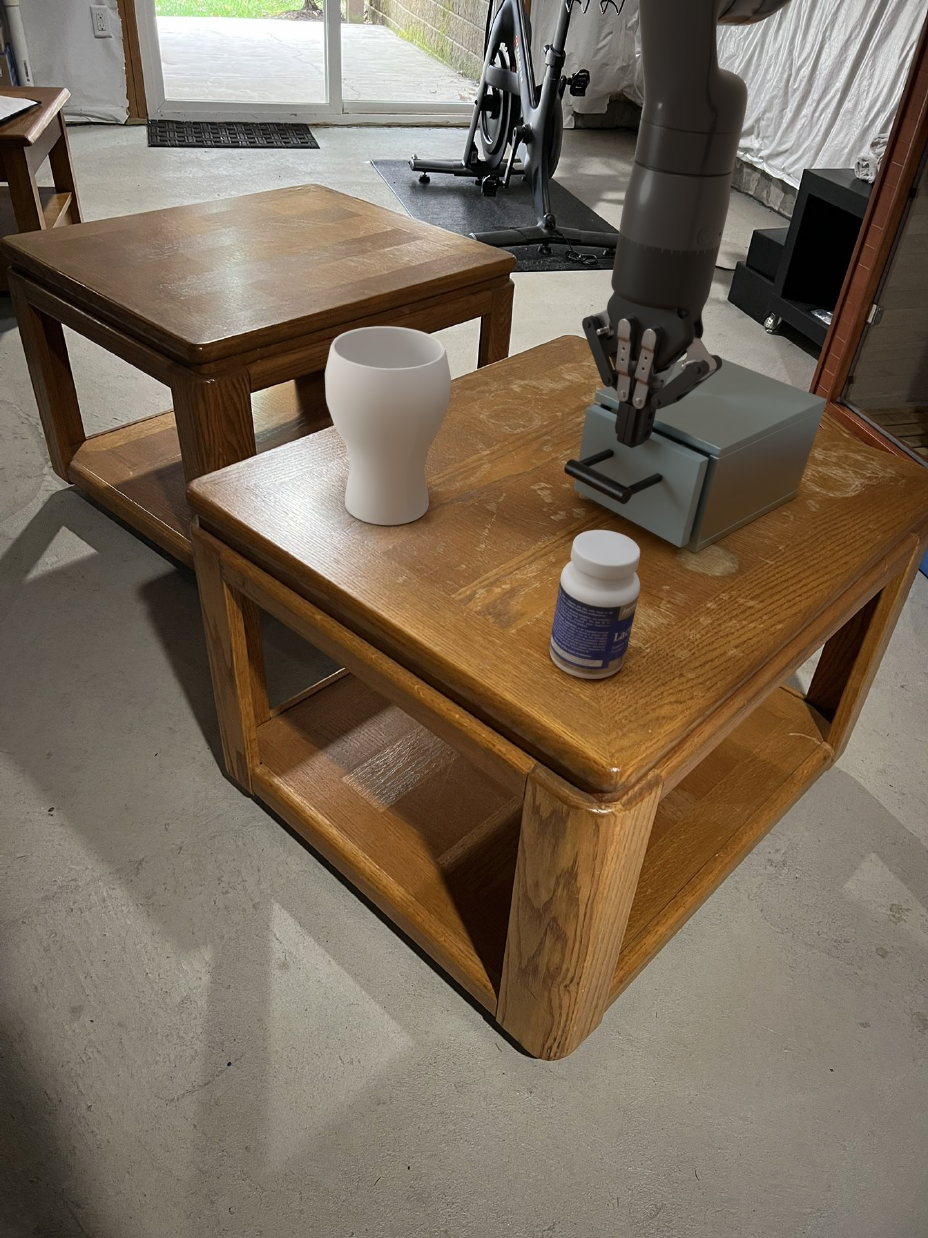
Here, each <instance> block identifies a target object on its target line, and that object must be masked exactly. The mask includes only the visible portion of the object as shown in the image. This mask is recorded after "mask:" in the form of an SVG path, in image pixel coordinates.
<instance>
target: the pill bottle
mask: <svg viewBox="0 0 928 1238" xmlns="http://www.w3.org/2000/svg"><path fill="white" fill-rule="evenodd" d="M640 556H641V548H640V547H639V545H638V544H637V543H636V541H635V540H633V539H631V538H630V537H629V536H627V535H625V534H622V533H620V532H616V531H612V530H608V529H607V530H606V529H593V530H586V531H583V532H581V533H579V534H578V535H576V536H575V538H574V539H573V542H572V546H571V551H570V561H569V562H567V564H566V565H565V566H564V567H563V569H562V571H561V573H560V580H559V585H558V591H557V597H556V604H555V610H554V614H553V615H554V616H553V622H552V627H551V634H550V640H549V654H550V657H551V659H552V661H553V663H554V664H555V665H556V667H558V668H559V669H560V670H562V671H564V672H565V673H567V674H568V675H571V676H574V677H577V678H581V679H587V680H597V679H598V680H599V679H605V678H608V677H610V676H612V675H615V673H617V672H618V671H620V670H621V669H622V667H623V665H624V664H625V660H626V657H627V656H626V655H627V651H628V647H629V642H630V637H631V633H632V629H633V623H634V619H635V615H636V610H637V605H638V601H639V597H640V591H641V582H640V577H639V576H638V574H637V570H638V567H639V563H640V558H641V557H640Z"/></svg>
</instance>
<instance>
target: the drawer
mask: <svg viewBox="0 0 928 1238" xmlns="http://www.w3.org/2000/svg"><path fill="white" fill-rule="evenodd" d="M617 412H618V411H617V410H614V409H612V408H611V412H609V411H607V410H605V409H603V408H601V407H598V406H596V405H594V404H593V405H591V406H587V407H586V408H585V415H584V416H585V417H584V421H583V427H582V436H581V442H580V449H579V455H578V460H576V459H574V458H570V459H568V461H567V462H566V463H565V465H564V468H563V471H564V473H565V475H568V476H569V477H571V478H573V479H574V480H575V482H574V491H575V492H577V493H579V494H581V495H583V496H584V497H587V498H588V499H591V500H592V501H594V502H596V503H597V504H600V505H601V506H603V507H605V508H606V509H609V510H611V511H612V512H614V513H616V514H618V515H620V516H621V517H623V518H625V519H627V520H629V521H630V522H631V523H634V524H636V525H638V526H640V527H642V528H644V529H645V530H647V531H648V532H651V533H652V534H655V535H656V536H658V537H659V538H661V539H663V540H665V541H667V542H669V543H670V544H672V545H674V546H676V547H678V548H682V547H683V546H684V545H686V544H688V542H689V538H690V533H691V531H692V528H693V524H694V520H695V516H696V512H697V508H698V504H699V500H700V496H701V492H702V488H703V484H704V479H705V475H706V471H707V467H708V463H709V459H710V455H711V454H709V453H707V452H705V451H702V450H700V449H698V448H696V447H694V446H692V445H690V444H687V443H685V442H683V441H681V440H679V439H677V438H675V437H672V436H670V435H668V434H666V433H664V432H662V431H660V430H657V429H655V428H652V433H651V436H650V438H649V439H648V440H646V441H644V443H643V444H641V445H638V446H636V447H634V448H630V447H628V446H626V445H624V444H622V443H620V442H618V441H617V435H618V434H616V432H615V423H616V418H617Z"/></svg>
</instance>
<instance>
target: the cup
mask: <svg viewBox="0 0 928 1238" xmlns="http://www.w3.org/2000/svg"><path fill="white" fill-rule="evenodd" d="M326 361H327V363H326V365H325V366H326V367H325V370H324V371H325V372H324V384H325V385H324V387H325V400H326V405H327V408H328V411H329V414H330V417H331V419H332V423H333V425H334V427H335V429H336V431H337V433H338V434H339V436H340V438H341V440H342V441H343V443H344V445H345V446H346V452H347V459H348V465H349V469H348V470H349V471H348V476H347V482H346V487H345V496H344V507H345V509H346V511H347V512H348V514H350V515H351V516H353V517H354V518H356V519H357V520H360V521H363V522H364V523H369V524H372V525H378V526H379V525H380V526H397V525H398V526H399V525H403V524H408V523H410V522H411V523H412V522H413V521H417V520H418V519H419V518H421V517H422V516H425V514H426V513H427V512H428V509H429V505H430V500H429V490H428V484H427V478H426V477H427V476H426V470H425V469H426V464H427V459H428V455H429V454H428V453H429V449H430V447H431V445H432V443H433V441H434V440H435V439H436V437H437V435H438V434H439V433H440V431H441V428H442V426H443V422H444V420H445V417H446V415H447V412H448V409H449V405H450V400H451V389H452V388H451V387H452V376H451V370H450V365H449V359H448V353H447V348H446V347H445V345H444V343H443V341H441V340H440V339H439V338H437V337H435V336H433V335H431V334H429V333H428V332H424V331H421V330H418V329H413V328H407V327H402V326H401V327H400V326H387V325H384V326H383V325H382V326H381V325H380V326H379V325H377V326H375V325H374V326H367V327H359V328H356V329H351V330H348V331H346V332H344V333H340V334H339V335H338V336H337V337H335V338H334V339H333V340H332V342H331V344H330V348H329V353H328V356H327V360H326Z"/></svg>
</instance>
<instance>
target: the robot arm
mask: <svg viewBox="0 0 928 1238" xmlns="http://www.w3.org/2000/svg"><path fill="white" fill-rule="evenodd" d="M791 2H792V0H637V9H638V22H639V24H638V25H639V38H640V54H641V55H640V57H641V69H642V79H643V104H642V110H641V114H640V121H639V128H638V132H637V133H638V134H637V139H636V147H635V152H634V159H633V163H632V168H631V170H630V171H631V172H630V175H629V178H628V181H627V185H626V188H625V193H624V198H623V205H622V210H621V217H620V218H621V219H620V224H619V229H618V236H617V243H616V248H615V249H616V250H615V255H614V260H613V261H614V263H613V268H612V274H611V280H610V285H611V288H612V290H613V293H612V295H610V297H609V299H608V301H607V305H606V309H603V310H602V311H600V312H598V313H594V314H591V315H588V316H586V317H583V319H582V321H581V326H582V327H581V328H582V329H583V332H584V336H585V338H586V340H587V343H588V346H589V349H590V351H591V352H590V353H591V354H592V357H593V360H594V363H595V365H596V368H597V371H598V375H599V377H600V379H601V382H602V385H603V386H604V387H605V388H606V387H610V386H611V387H613V388H614V389H615V390H616V391H617V397H618V399H619V406H618V412H617V418H616V423H615V432H616V434H618V435H617V441H618V442H620V443H622V444H624V445H626V446H628V447H630V448H634V447H636V446H638V445H641V444H643V443H644V441H646V440H648V439H649V438H650V436H651V433H652V428H653V423H654V419H655V414H656V409H661V408H664V407H666V406H669V405H671V404H674V403H676V402H679V401H680V400H681V399H682V398H684V397H685V396H686V395H688V394H689V393H690V392H691V391H693V390H694V389H695V388H696V387H698V386H699V385H700V384H702V383H703V382H704V381H705V380H707V379H708V378H709V377H710V376H712V375H713V374H714V373H716V372H717V371H718V370H719V369H720V368H721V367H722V359H723V358H722V357H721V356H720V355H718V354H712V356H710V354H711V353H710V354H709V351H708V350H707V349H708V348H707V347H706V346H705V344H704V343H703V340H702V338H703V335H704V330H705V329H704V323H703V310H704V308H705V306H706V304H707V301H708V299H709V296H710V293H711V288H712V284H713V280H714V274H715V270H716V265H717V261H718V257H719V252H720V248H721V243H722V239H723V233H724V230H725V225H726V222H727V217H728V212H729V206H730V201H731V190H732V188H731V187H732V181H733V180H732V178H733V173H734V169H735V164H736V159H737V154H738V150H739V146H740V140H741V137H742V132H743V128H744V122H745V119H746V112H747V107H748V101H749V94H748V93H749V91H748V87H747V84H746V82H745V80H744V79H743V78H742V77H741V76H740V75H738V74H736V73H735V72H732V71H730V70H728V69H725V68H722V67H720V66H719V58H718V57H719V56H718V39H717V37H718V35H717V34H718V33H717V32H718V27H719V26H720V27H721V26H726V27H745V26H751V25H754V24H757V23H760V22H762V21H764V20H765V19H766V20H767V19H768V18H770V17H772V16H773V15H775V14H776V13H778V12H779V11H781V10H782V9H784V7H786V6H787V5H788V4H789V3H791ZM685 355H686V357H685V358H683V357H684V356H685ZM682 358H683V360H684V361H683V364H682V365H681V370H682V371H683V372H681V373H680V374H679V375H678V376H677V377H675V378H674V379H673V380H672V381H670V382H669V383H668V384H667V385H666V382H667V379H668V378H669V377H670V376H671V374H672V373H673V369H674V366H675V363H676V362H678V361H680V359H682ZM721 358H722V359H721Z"/></svg>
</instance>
